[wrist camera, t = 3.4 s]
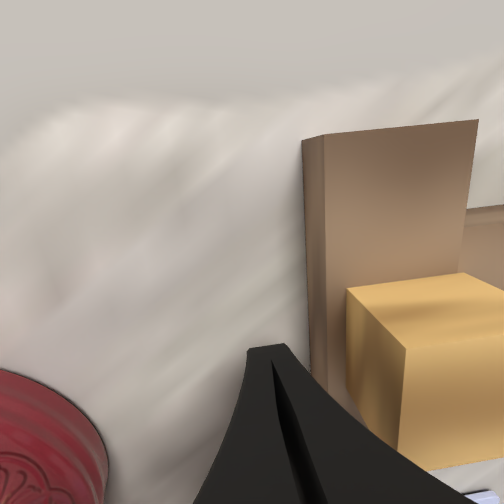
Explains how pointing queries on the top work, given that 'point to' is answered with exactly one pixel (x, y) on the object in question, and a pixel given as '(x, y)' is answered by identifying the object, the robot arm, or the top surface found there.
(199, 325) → the top surface
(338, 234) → the wooden slab structure
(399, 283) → the block
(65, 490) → the canister
